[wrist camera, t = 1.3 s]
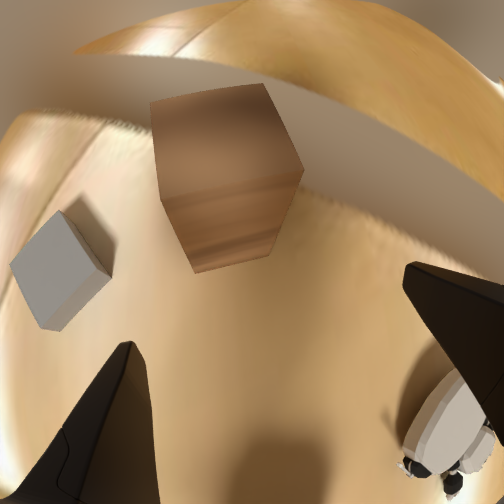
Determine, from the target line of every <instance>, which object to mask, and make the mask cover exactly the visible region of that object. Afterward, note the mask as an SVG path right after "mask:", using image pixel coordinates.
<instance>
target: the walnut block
mask: <svg viewBox="0 0 504 504" xmlns="http://www.w3.org/2000/svg"><path fill="white" fill-rule="evenodd" d="M150 110H151V122H152V134H153V144H154V153H155V162H156V170H157V178H158V186H159V193H160V200H161V202H162V204H163V206H164V209H165V211H166V213H167V215H168V218H169V220H170V222H171V224H172V226H173V229H174V231H175V233H176V235H177V237H178V239H179V241H180V244H181V246H182V248H183V250H184V252H185V254H186V256H187V258H188V260H189V262H190V264H191V266H192V268H193V270H194V272H195V274H196V273H201V272H205V271H209V270H213V269H217V268H221V267H225V266H229V265H233V264H237V263H241V262H245V261H249V260H253V259H257V258H261V257H266V256H269V254H270V252H271V249H272V247H273V244H274V242H275V240H276V237H277V235H278V233H279V230H280V228H281V225H282V223H283V221H284V218H285V216H286V213H287V211H288V209H289V206H290V204H291V201H292V199H293V196H294V194H295V192H296V189H297V187H298V184H299V182H300V179H301V177H302V174H303V172H304V168H303V166H302V163H301V161H300V159H299V156H298V155H297V152H296V150H295V148H294V145H293V143H292V141H291V139H290V137H289V135H288V133H287V130H286V128H285V126H284V124H283V122H282V120H281V118H280V116H279V114H278V112H277V110H276V108H275V106H274V104H273V102H272V100H271V98H270V96H269V94H268V92H267V90H266V88H265V86H264V84H263V83H261V84H251V85H242V86H234V87H227V88H220V89H214V90H208V91H202V92H197V93H191V94H186V95H181V96H177V97H172V98H168V99H164V100H160V101H155V102H151V103H150Z"/></svg>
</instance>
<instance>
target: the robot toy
mask: <svg viewBox="0 0 504 504" xmlns="http://www.w3.org/2000/svg"><path fill="white" fill-rule="evenodd" d="M493 431H494V430H493V428H492V426H491V424H490V423H489V421H488V419H487V417H486V416H485V414H484V412H483V410H482V409H481V407H480V405H479V403H478V402H477V400H476V398H475V397H474V395H473V393H472V392H471V390H470V389H469V387H468V385H467V384H466V382H465V381H464V379H463V378H462V376H461V375H460V373H459V372H458V370H457V369H456V368H454V369H453V370H451V371H450V372H449V373H448V374H447V375H446V376H445V377H444V378H443V379H442V380H441V382H440V383H439V384H438V385H437V386H436V388H435V389H434V390H433V391H432V392H431V394H430V395H429V396H428V397H427V399H426V400H425V402H424V404H423V406H422V407H421V409H420V411H419V412H418V414H417V415H416V417H415V419H414V421H413V423H412V424H411V426H410V428H409V430H408V432H407V434H406V437H405V440H404V443H403V452H404V454H405V457H404V459H403V462H404V465H405V468H404V467H403V465H402V464H401V463H399V462H398V463H397V464H396V465H397V466H398V467H400V468H401V469H402V470H403V471H404V472H405V473H407V474H406V475H407V476H408V477H410V478H411V479H412V478H413V477H414V476H416V477H417V478H427V477H429V476H430V475H439V474H441V473H443V472H444V471H446V470H448V471H449V475H448V476H447V477H446V479H445V480H444V492H445V493H446V494H447V495H446V498H447V500H452V499H453V497H455V496H456V495H457V494H458V493H459V491H460V489H461V488H462V485H463V476H462V475H461V474H460V473H459V472H457V470H459V471H461V472H463V473H466V474H471V473H473V472H478V471H479V470H480V469H481V468H482V465H483V464H484V463H485V462H486V460H487V458H488V456H489V455H490V456H491V453H492V451H493V447H494V443H495V440H496V439H495V434H494V432H493Z"/></svg>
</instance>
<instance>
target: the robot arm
mask: <svg viewBox="0 0 504 504" xmlns="http://www.w3.org/2000/svg"><path fill="white" fill-rule="evenodd" d="M402 285H403V290H404V292H405V293H406V295H407V296H408V298H409V299H410V301H411V303H412V304H413V306H414V307H415V309H416V311H417V312H418V314H419V315H420V317H421V319H422V320H423V322H424V323H425V325H426V326H427V327H428V329H429V330H430V331H431V333H432V334H433V336H434V337H435V338H436V340H437V341H438V343H439V344H440V345H441V347H442V348H443V350H444V351H445V352H446V354H447V355H448V357H449V358H450V360H451V361H452V363H453V364H454V366H455V367H456V369H457V370H458V372H459V373H460V375H461V376H462V378H463V379H464V381H465V382H466V384H467V385H468V387H469V389H470V390H471V392H472V393H473V395H474V397H475V398H476V400H477V402H478V403H479V405H480V407H481V409H482V410H483V412H484V414H485V416H486V417H487V419H488V421H489V423H490V424H491V426H492V428H493V430H494V432H495V434H496V436H497V437H498V439H499V441H500V443H501V445H502V446H503V447H504V285H500V284H498V283H494V282H491V281H487V280H484V279H480V278H477V277H473V276H470V275H466V274H462V273H459V272H455V271H451V270H448V269H444V268H440V267H437V266H433V265H429V264H425V263H421V262H417V261H415V262H412V263H409V264H407V265H406V267H405V272H404V278H403V284H402ZM0 504H160V497H159V489H158V481H157V472H156V462H155V451H154V437H153V419H152V407H151V400H150V393H149V386H148V378H147V370H146V364H145V361H144V358H143V357H142V355H141V353H140V351H139V350H138V348H137V346H136V344H135V343H134V342H133V341H127V342H122V343H120V344H119V345H118V346H117V348H116V349H115V350H114V352H113V353H112V354H111V356H110V357H109V358H108V360H107V361H106V363H105V364H104V365H103V367H102V368H101V370H100V371H99V372H98V374H97V375H96V377H95V378H94V379H93V381H92V382H91V384H90V385H89V387H88V388H87V389H86V391H85V392H84V394H83V395H82V397H81V398H80V400H79V401H78V403H77V404H76V406H75V407H74V409H73V410H72V412H71V413H70V415H69V416H68V418H67V419H66V421H65V422H64V424H63V425H62V428H60V430H59V431H58V433H57V434H56V436H55V437H54V439H53V440H52V442H51V443H50V445H49V446H48V448H47V449H46V451H45V452H44V454H43V455H42V456H41V458H40V459H39V460H38V462H37V463H36V464H35V466H34V467H33V468H32V470H31V471H30V472H29V474H28V475H27V476H26V478H25V479H24V480H23V482H22V483H21V484H20V486H19V487H18V488H17V489H16V491H14V492H13V493H12V494H11V495H9V496H8V497H6V498H3V499H0ZM496 504H504V496H503V497H502V498H501V499H500V500H499V501H498V502H497V503H496Z"/></svg>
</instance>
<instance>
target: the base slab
mask: <svg viewBox="0 0 504 504" xmlns="http://www.w3.org/2000/svg"><path fill="white" fill-rule="evenodd" d="M9 265H10V267H11V270H12V272H13V274H14V277H15V279H16V281H17V283H18V286H19V288H20V290H21V292H22V294H23V296H24V298H25V300H26V302H27V304H28V306H29V308H30V310H31V312H32V314H33V316H34V318H35V319H36V321H37V323H38V325H39V327H40V328H41V329H46V330H53V331H59V332H60V331H61V330H62V329H63V328H64V327H65V326H66V325H67V323H68V322H69V321H70V320H71V319H72V318H73V317H74V316H75V315H76V314H77V313H78V312H79V311H80V310H81V309H82V308H83V307H84V306H85V305H86V303H87V302H88V301H89V300H90V299H91V298H92V297H93V296H94V295H95V294H96V293H97V292H98V291H99V290H100V289H101V288H102V287H103V286H104V285H105V284H106V283H107V282H108V281H109V280H110V279H111V276H110V275H109V274H108V272H107V271H106V270H105V268H104V267H103V266H102V264H101V263H100V261H99V260H98V259H97V257H96V256H95V254H94V253H93V251H92V250H91V249H90V247H89V246H88V244H87V243H86V241H85V240H84V238H83V237H82V235H81V234H80V232H79V231H78V229H77V228H76V226H75V224H74V223H73V222H72V221H71V220H69V219H68V218H67V217H66V216H65V215H64V214H63V213H62V212H61V211H60V210H58V211H57V212H56V213H55V214H54V215H53V216H52V217H51V218H50V219H49V220H48V221H47V222H46V223H45V224H44V225H43V226H42V227H41V228H40V230H39V231H38V232H37V233H36V234H35V235H34V236H33V237H32V238H31V239H30V241H29V242H28V243H27V244H26V245H25V246H24V247H23V249H22V250H21V251H20V252H19V253H18V254H17V256H16V257H15V258H14V259H13V261H12V262H11V263H10V264H9Z"/></svg>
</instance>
